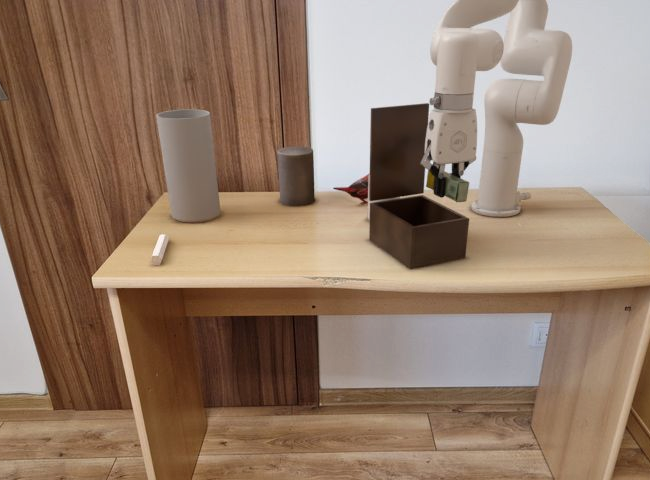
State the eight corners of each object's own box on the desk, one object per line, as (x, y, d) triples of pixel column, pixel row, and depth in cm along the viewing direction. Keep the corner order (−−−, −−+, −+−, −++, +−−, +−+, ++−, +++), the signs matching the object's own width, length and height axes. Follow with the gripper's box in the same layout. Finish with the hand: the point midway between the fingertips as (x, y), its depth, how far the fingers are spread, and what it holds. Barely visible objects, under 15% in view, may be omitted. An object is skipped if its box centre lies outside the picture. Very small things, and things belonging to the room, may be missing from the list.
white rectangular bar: (167, 241, 146) (158, 267, 133) (158, 237, 146) (148, 263, 132) (171, 232, 145) (163, 256, 132) (162, 228, 145) (153, 252, 131)
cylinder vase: (187, 227, 153) (172, 121, 140) (163, 215, 161) (146, 114, 148) (230, 216, 160) (219, 113, 147) (205, 205, 168) (193, 107, 155)
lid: (429, 103, 134) (416, 99, 138) (372, 108, 129) (360, 104, 133) (423, 193, 144) (411, 187, 148) (370, 201, 139) (359, 194, 143)
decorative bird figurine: (389, 201, 170) (391, 164, 165) (336, 213, 161) (336, 174, 156) (383, 198, 172) (384, 161, 167) (330, 210, 163) (329, 172, 158)
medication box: (467, 201, 127) (470, 181, 125) (456, 202, 126) (459, 183, 124) (435, 185, 136) (437, 167, 134) (425, 186, 135) (427, 168, 133)
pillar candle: (321, 199, 172) (320, 143, 164) (301, 208, 165) (299, 151, 157) (293, 194, 176) (290, 139, 169) (272, 203, 169) (268, 146, 161)
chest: (465, 258, 134) (469, 218, 129) (410, 269, 129) (412, 228, 124) (420, 231, 149) (422, 194, 144) (369, 240, 144) (369, 202, 139)
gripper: (428, 108, 116) (422, 204, 125) (498, 101, 122) (488, 194, 131) (407, 102, 122) (403, 195, 131) (476, 96, 128) (467, 185, 137)
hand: (446, 193), depth 131 cm, fingers closed on medication box, 2 cm apart
